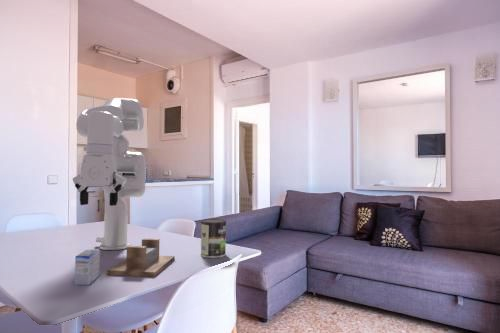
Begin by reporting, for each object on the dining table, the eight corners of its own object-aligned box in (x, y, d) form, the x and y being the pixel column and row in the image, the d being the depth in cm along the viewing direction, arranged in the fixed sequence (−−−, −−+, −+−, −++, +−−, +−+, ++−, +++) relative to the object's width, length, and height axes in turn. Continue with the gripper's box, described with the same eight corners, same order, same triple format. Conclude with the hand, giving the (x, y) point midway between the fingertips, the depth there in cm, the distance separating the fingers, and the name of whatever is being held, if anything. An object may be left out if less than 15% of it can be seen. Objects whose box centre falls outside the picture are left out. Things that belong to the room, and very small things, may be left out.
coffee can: (229, 253, 136) (230, 219, 136) (219, 259, 126) (219, 223, 126) (207, 250, 140) (208, 218, 140) (195, 256, 130) (196, 221, 130)
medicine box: (85, 276, 104) (86, 249, 104) (99, 276, 104) (100, 249, 104) (74, 285, 96) (74, 255, 96) (89, 285, 96) (90, 255, 96)
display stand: (107, 274, 106) (107, 248, 106) (134, 258, 125) (134, 236, 126) (154, 276, 104) (155, 250, 104) (174, 260, 124) (175, 237, 124)
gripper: (66, 149, 100) (65, 205, 99) (119, 150, 98) (118, 206, 97) (81, 151, 107) (80, 203, 107) (131, 151, 105) (130, 204, 105)
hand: (98, 205), depth 102 cm, fingers open, 9 cm apart
